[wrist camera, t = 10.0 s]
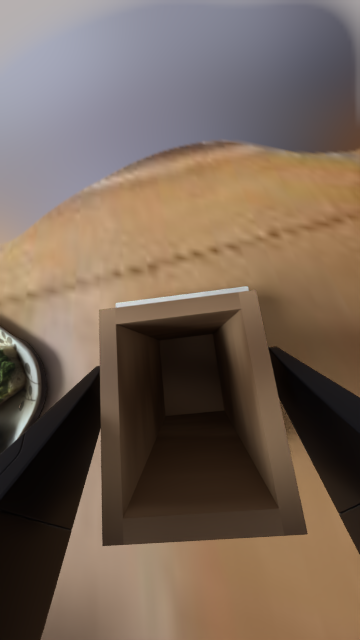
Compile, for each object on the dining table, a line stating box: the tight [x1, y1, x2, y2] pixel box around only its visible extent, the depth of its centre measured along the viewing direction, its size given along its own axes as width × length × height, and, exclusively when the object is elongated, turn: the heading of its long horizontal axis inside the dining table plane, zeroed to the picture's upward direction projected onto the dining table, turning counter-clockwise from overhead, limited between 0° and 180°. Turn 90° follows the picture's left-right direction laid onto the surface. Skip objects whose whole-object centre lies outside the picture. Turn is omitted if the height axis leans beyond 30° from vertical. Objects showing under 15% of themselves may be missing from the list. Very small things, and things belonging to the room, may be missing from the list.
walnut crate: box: [99, 290, 307, 546], centre depth 11 cm, size 8×6×10 cm
